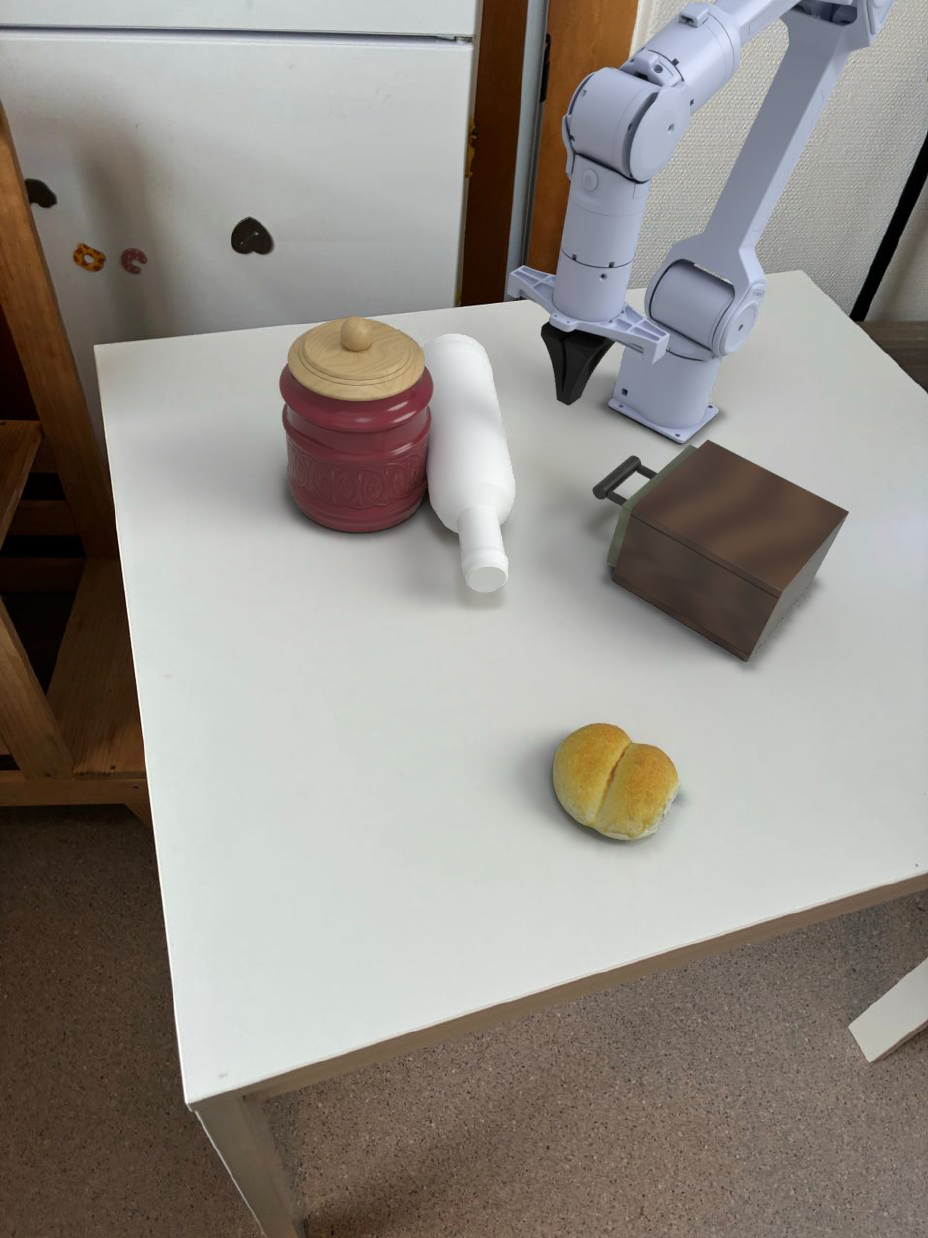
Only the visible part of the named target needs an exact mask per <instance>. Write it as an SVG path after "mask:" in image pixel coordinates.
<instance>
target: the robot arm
mask: <svg viewBox="0 0 928 1238" xmlns="http://www.w3.org/2000/svg"><path fill="white" fill-rule="evenodd" d="M896 1H897V0H714V2H713V3H710V2H707V1H698V2H689V3H687V4H686V5H685V6H684V7H683V8H682V9H681V10H680V11H679V12H678V13H677V14H676V15H675V16H674V17H673V18H672V19H671V20H670V21H669V22H667V23H666V24H665V25H664V26H663V27H662V28H661V29H660V30H658V32H656V34H654V35H653V36H652V37H651V38H650V39H649V40H648V41H647V42H646V43H645V44H644V45H642V46H641V47H640V48H639V49H638V50H637V51H636V52H634V53H633V54H632V56H630V57H629V58H628V59H627V60H626V61H625V62H624V63H623V64H621V66H620V67H618V68H616V67H612V66H609V67H608V66H605V67H603V68H601V69H599V70H596V71H593V72H591V73H589V74H588V75H586V76H585V77H584V78H583V79H582V81H581V82H580V83H579V84H578V86H577V87H576V89H575V90H574V92H573V95H572V96H571V99H570V101H569V104H568V109H567V112H566V114H565V115H563V117H562V120H561V136H562V141H563V144H564V147H565V149H566V152H567V153H566V155H567V158H566V159H567V160H566V166H565V173H566V176H567V178H568V180H569V181H571V182H570V186H569V194H568V199H567V205H566V211H565V216H564V217H565V218H564V224H563V230H562V235H561V242H560V249H559V255H558V261H557V268H556V274H552V273H547V272H543V271H540V270H537V269H533V268H531V267H529V266H526V265H521V266H520V267H518V268H515V269H514V270H512V271H510V272H509V274H508V281H507V282H508V283H507V291H506V294H507V295H508V296H510V297H512V298H514V299H519V298H521V297H523V298H524V299H527V300H529V301H531V302H533V303H535V304H537V305H539V306H540V307H542V308H543V309H544V310H545V311H546V312H547V313H548V314H549V315H550V316H549V318H548V321H546V322H545V323H544V324H543V325H541V328H540V338H541V339H542V341H543V343H544V345H545V347H546V350H547V352H548V355H549V359H550V361H551V362H550V363H551V365H552V372H553V377H554V384H555V385H554V387H555V395H556V401H558V402H560V403H561V404H564V405H566V406H571V405H572V404H574V403H575V402H577V401H578V400H579V399H580V398H581V399H582V396H583V393H584V391H585V389H586V386H587V384H588V383H589V380H590V378H591V377H592V376H593V375H592V374H593V373H594V371H595V370H596V368H597V366H599V364H600V362H601V361H602V359H603V358H604V357H605V355H606V354H607V353H608V351H610V349H611V348H612V347H613V346H614V345H615V344H616V343H618V344H620V345H621V346H623V347H624V350H623V353H622V357H621V361H620V365H619V369H618V374H617V377H616V381H615V386H614V391H613V394H612V398H611V399H609V400H608V402H607V405H608V407H610V408H611V409H614V410H615V411H617V412H619V413H621V414H623V415H625V416H627V417H628V418H631V419H632V420H634V421H637V422H638V423H640V424H642V425H644V426H646V427H648V428H650V429H652V430H653V431H656V432H658V433H660V434H662V436H665V437H667V438H669V439H671V440H673V441H675V442H677V443H679V444H684V443H686V442H687V441H688V440H689V439H690V438H691V437H693V436H694V435H695V434H696V433H697V432H699V430H701V429H702V428H703V427H704V426H705V425H706V424H707V423H709V422H710V421H711V420H712V419H713V418H714V417H716V415H718V414H719V407H717V406H715V405H713V404H711V403H709V400H710V397H711V394H712V392H713V389H714V385H715V383H716V379H717V377H718V374H719V371H720V369H721V365H722V362H723V359H724V358H725V357H726V356H728V355H729V356H730V354H733V353H735V352H736V351H737V350H738V349H739V348H741V346H742V345H743V344H744V343H745V341H746V340H747V339H748V337H749V336H750V334H751V332H752V331H753V329H754V327H755V324H756V322H757V319H758V317H759V314H760V313H759V311H760V308H761V304H762V302H763V300H764V297H765V295H766V293H767V289H768V287H769V281H768V278H767V276H766V273H765V271H764V269H763V267H762V265H761V262H760V260H759V258H758V256H757V253H756V250H755V249H756V247H757V245H758V243H759V240H760V239H761V236H762V234H763V233H764V231H765V228H766V226H767V224H768V222H769V220H770V218H771V216H772V214H773V212H774V210H775V208H776V206H777V204H778V202H779V200H780V198H781V196H782V193H783V192H784V190H785V187H786V186H787V184H788V182H789V180H790V178H791V176H792V174H793V172H794V169H795V167H796V165H797V163H798V162H799V159H800V157H801V155H802V153H803V151H804V149H805V147H806V145H807V143H808V141H809V139H810V137H811V135H812V132H813V131H814V128H815V126H816V125H817V122H818V120H819V118H820V116H821V114H822V112H823V111H824V108H825V106H826V104H827V102H828V100H829V98H830V96H831V94H832V91H833V89H834V88H835V85H836V84H837V82H838V79H839V77H840V75H841V74H842V72H843V70H844V68H845V65H846V64H847V63H848V60H849V58H850V56H851V54H852V52H854V51H859V50H862V49H865V48H869V47H871V46H873V44H874V42H875V40H876V38H877V36H878V34H879V32H880V31H881V30H882V28H883V27H884V26H885V23H886V22H887V19H888V17H889V15H890V13H891V11H892V9H893V7H894V5H895V3H896ZM778 19H780V21H781V22H782V23H783V24H784V25H785V26H786V28H787V37H788V45H787V49H786V50H785V53H784V55H783V57H782V60H781V62H780V63H779V66H778V68H777V70H776V72H775V74H774V77H773V79H772V81H771V84H770V85H769V87H768V90H767V92H766V93H765V96H764V99H763V102H761V105H760V108H759V109H758V111H757V114H756V117H755V118H754V120H753V122H752V125H751V127H750V129H749V131H748V134H747V136H746V138H745V140H744V143H743V145H742V147H741V149H740V151H739V153H738V156H737V157H736V160H735V162H734V164H733V167H732V169H731V171H730V173H729V175H728V177H727V179H726V182H725V184H724V186H723V188H722V190H721V193H720V195H719V197H718V199H717V201H716V204H715V206H714V208H713V211H712V212H711V214H710V217H709V219H708V222H707V224H706V226H705V228H704V230H703V231H702V232H700V233H698V234H695V235H692V236H688V237H686V238H684V239H683V238H682V239H681V240H678V241H676V242H674V243H673V244H672V245H671V248H670V249H669V251H668V253H667V255H666V257H665V259H664V260H663V262H662V263H661V265H660V266H659V267H658V268H657V270H656V271H655V272H654V274H653V276H652V277H651V279H650V281H649V283H648V284H647V287H646V289H645V294H644V299H643V305H644V306H643V308H644V309H643V310H644V314H645V316H646V317H645V316H644V315H643V314H641V313H640V312H639V311H638V310H636V309H635V308H634V307H632V306H631V305H630V304H629V303H628V302H626V301H625V299H626V295H627V291H628V286H629V283H630V282H629V281H630V278H631V273H632V268H633V265H634V260H635V255H636V251H637V247H638V244H639V243H638V242H639V239H640V233H641V230H642V225H643V221H644V216H645V213H646V208H647V203H648V199H649V196H650V195H649V194H650V189H651V185H652V183H653V182H652V181H653V178H654V177H655V176H656V175H657V174H659V173H661V172H662V171H663V170H664V169H665V167H666V166H667V164H668V162H670V160H671V157H673V154H674V152H675V150H676V148H677V145H678V144H679V142H680V140H681V139H682V138H683V136H684V135H685V134H686V133H687V130H688V129H689V127H690V119H691V117H693V115H694V114H696V113H697V112H698V111H699V110H700V109H701V108H702V107H703V106H704V105H705V104H706V103H707V102H708V101H709V100H710V99H712V97H714V96H715V95H716V94H717V93H718V92H719V91H720V90H721V89H722V88H723V87H724V86H725V85H726V84H727V83H728V82H729V81H730V80H732V78H733V77H734V76H736V75H735V74H736V73H737V71H738V69H739V66H740V64H741V59H742V58H741V57H742V47H744V46H745V45H746V44H747V43H749V42H750V41H752V39H754V38H755V37H756V36H757V35H759V34H760V33H762V32H763V31H764V30H766V29H767V28H768V27H769V26H770V25H772V24H773V23H774V22H776V21H777V20H778ZM696 265H698V266H700V267H698V266H696ZM701 267H702V268H704V269H706V270H707V271H706V270H704V269H702V268H701ZM708 271H710V272H712V273H714V274H716V275H714V274H712V273H710V272H708ZM717 275H718V276H720V277H722V278H724V279H722V278H720V277H718V276H717ZM725 279H726V280H727V281H726V280H725Z"/></svg>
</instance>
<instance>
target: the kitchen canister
mask: <svg viewBox="0 0 928 1238" xmlns="http://www.w3.org/2000/svg"><path fill="white" fill-rule="evenodd" d="M278 381H279V382H278V387H279V393H280V395H281V397H282V399H283V401H284V404H283V407H282V411H281V423H282V426H283V429H284V432H285V441H286V442H285V443H286V453H287V463H286V464H287V465H286V476H287V484H288V487H289V490H290V493H291V495H292V499H293V501H294V503H295V504H296V506H297V508H298V509H299V510H300V511H301V512H302V513H303V514H304V515H305V516H306V517H308V518H309V519H311V520H312V521H314V522H316V524H319V525H322V526H323V527H327V528H329V529H333V530H337V531H341V532H348V533H349V532H350V533H368V532H376V531H382V530H385V529H388V528H391V527H394V526H396V525H398V524H400V523H402V522H404V521H405V520H407V519H408V518H409V517H411V516H412V515H413V514H414V513H415V512H416V511H417V510H418V508H419V507H420V505H421V504H422V502H423V500H424V499H423V498H424V495H425V493H426V490H427V488H428V480H427V471H426V463H427V453H428V437H429V430H430V427H431V422H432V416H431V411H430V408H429V405H428V404H429V402H430V400H431V398H432V395H433V389H434V384H433V379H432V376H431V374H430V372H429V370H428V369H427V367H426V366H425V357H424V354H423V351H422V347H421V346H420V344H419V343H418V342H417V341H416V340H415V339H413V338H412V337H411V336H410V335H409V334H407V333H405V332H403V331H402V330H400V329H398V328H396V327H393V326H392V325H390V324H388V323H385V322H383V321H380V320H376V319H372V318H366V317H361V316H351V317H344V318H337V319H332V320H329V321H325V322H324V323H321V324H320V325H317V326H315V327H313V328H310V329H308V330H307V331H305V332H303V333H302V334H300V335H299V336H298V337H297V338H295V340H294V341H293V342H292V343H291V345H290V347H289V348H288V352H287V362H286V364H285V366H284V367H283V368H282V370H281V372H280V376H279V380H278Z"/></svg>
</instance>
